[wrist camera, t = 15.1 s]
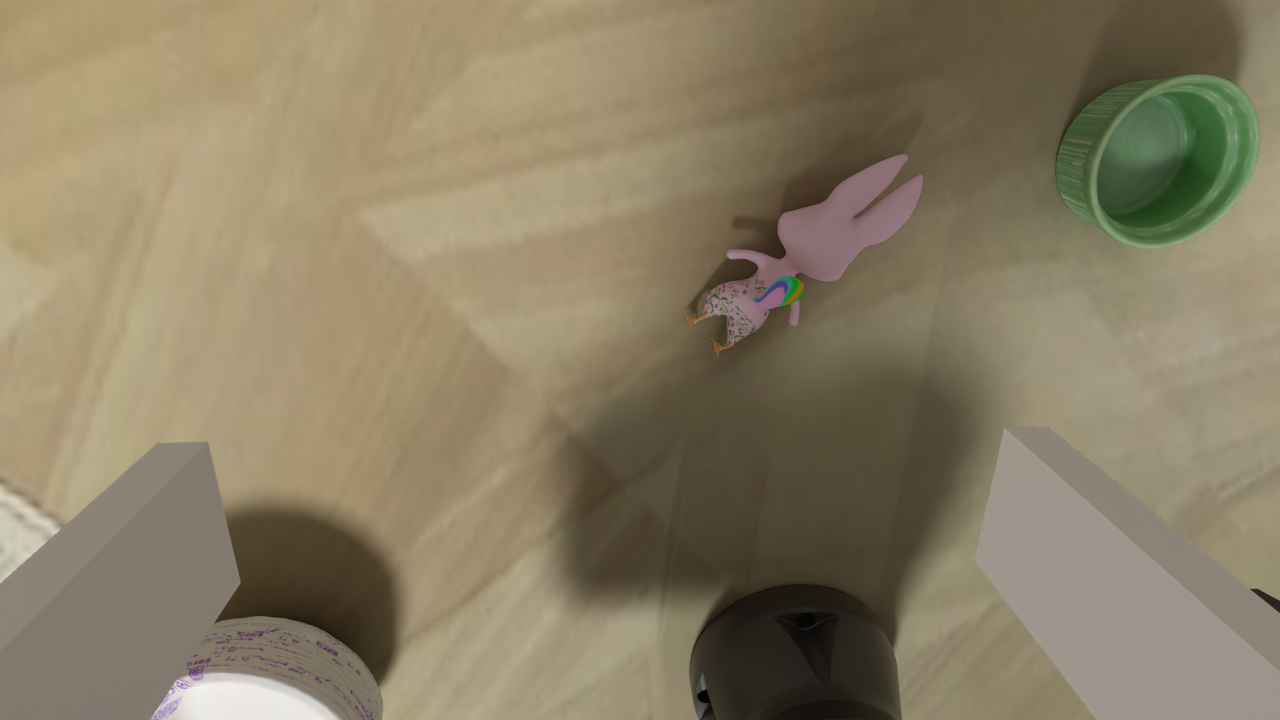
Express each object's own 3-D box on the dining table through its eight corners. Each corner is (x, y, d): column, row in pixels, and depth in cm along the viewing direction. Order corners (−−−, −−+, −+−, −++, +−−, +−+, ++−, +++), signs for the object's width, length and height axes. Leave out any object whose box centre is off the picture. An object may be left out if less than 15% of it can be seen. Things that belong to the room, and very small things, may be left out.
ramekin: (1012, 164, 43) (1057, 176, 38) (1140, 34, 40) (1202, 32, 36) (1101, 261, 45) (1152, 281, 41) (1226, 144, 43) (1293, 154, 39)
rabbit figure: (733, 352, 47) (938, 198, 42) (738, 402, 42) (973, 234, 37) (667, 285, 45) (873, 114, 40) (665, 329, 40) (901, 139, 35)
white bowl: (194, 559, 49) (126, 648, 42) (419, 617, 52) (392, 710, 45) (158, 719, 54) (91, 823, 47) (365, 764, 57) (332, 868, 50)
